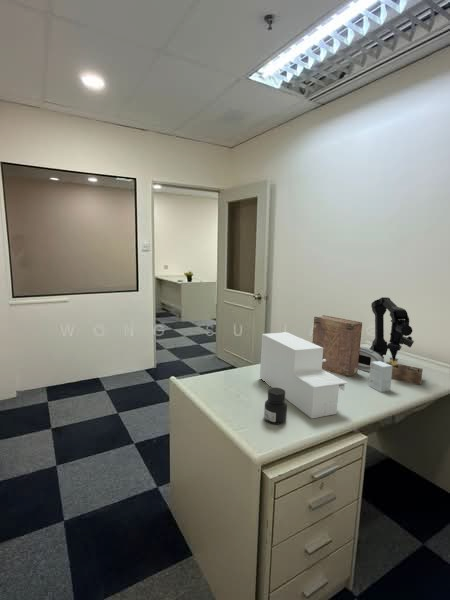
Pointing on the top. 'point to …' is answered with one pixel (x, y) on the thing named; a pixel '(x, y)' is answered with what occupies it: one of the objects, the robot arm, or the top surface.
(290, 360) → the building
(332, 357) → the brown wooden case
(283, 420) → the ink bottle
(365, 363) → the alarm clock
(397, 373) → the walnut block
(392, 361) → the brass peg
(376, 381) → the small box
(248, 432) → the top surface
